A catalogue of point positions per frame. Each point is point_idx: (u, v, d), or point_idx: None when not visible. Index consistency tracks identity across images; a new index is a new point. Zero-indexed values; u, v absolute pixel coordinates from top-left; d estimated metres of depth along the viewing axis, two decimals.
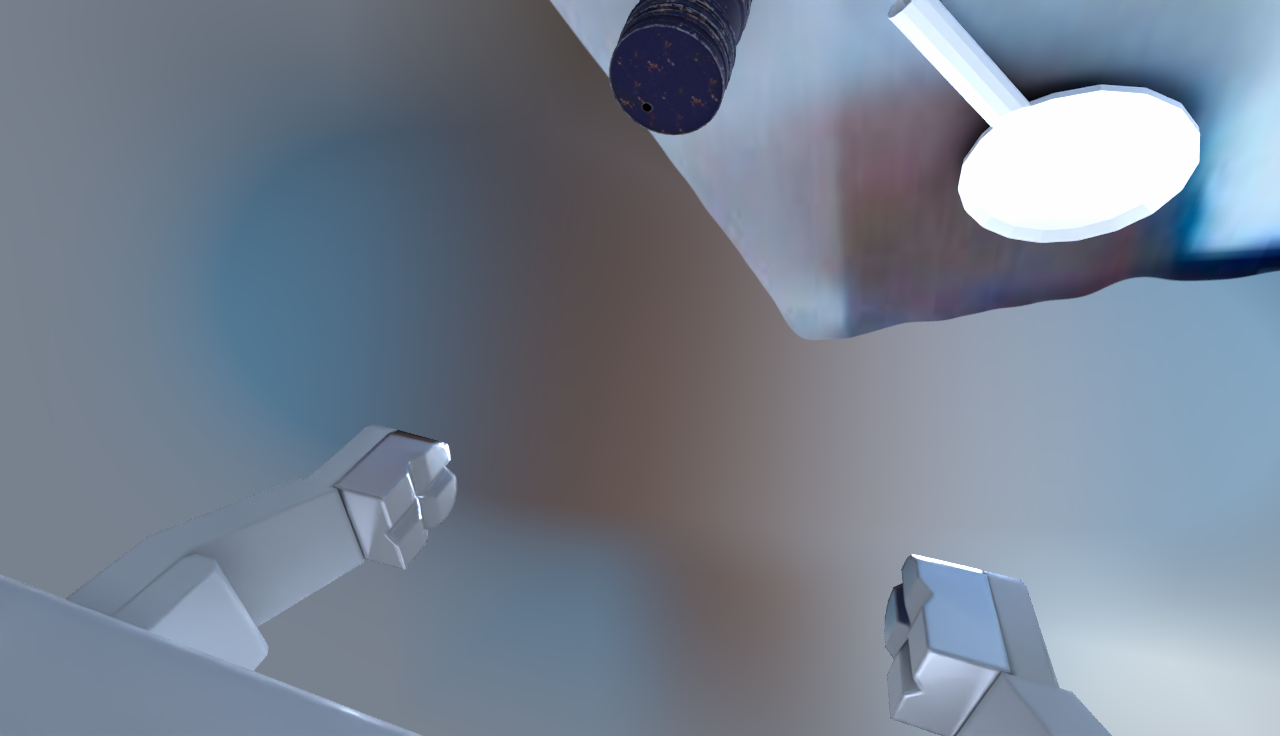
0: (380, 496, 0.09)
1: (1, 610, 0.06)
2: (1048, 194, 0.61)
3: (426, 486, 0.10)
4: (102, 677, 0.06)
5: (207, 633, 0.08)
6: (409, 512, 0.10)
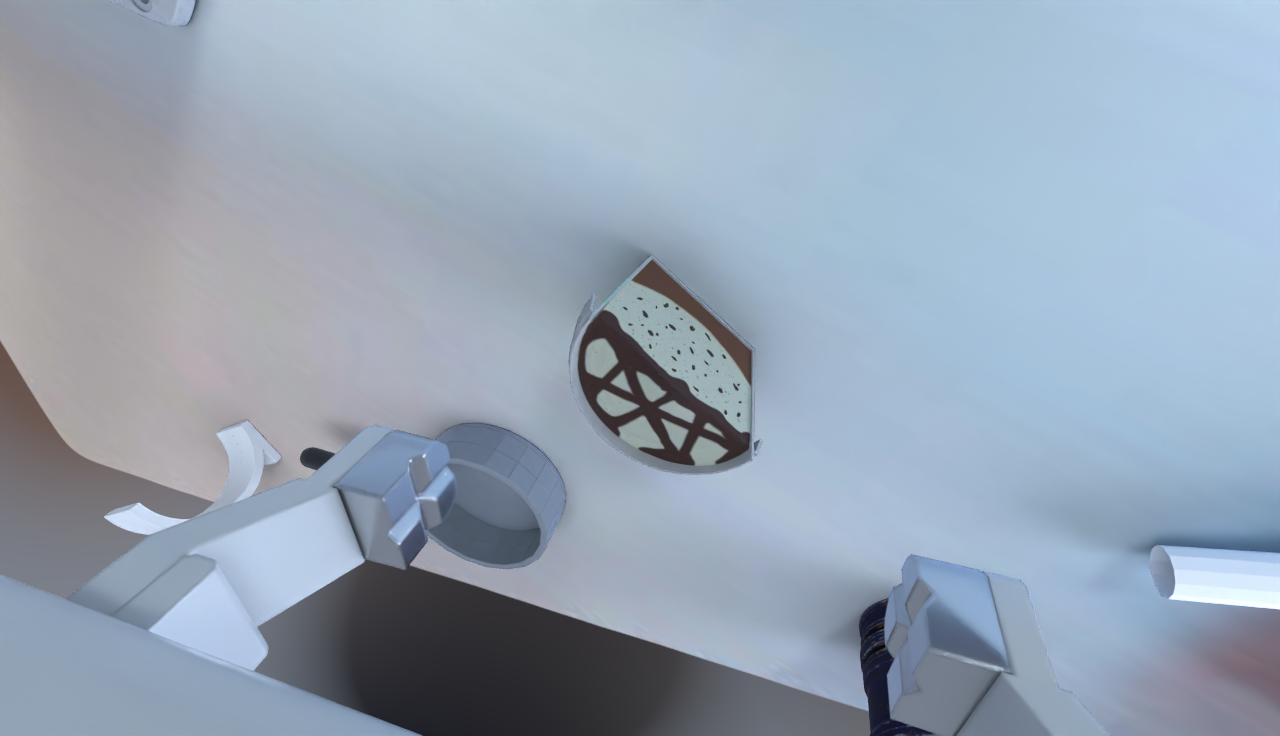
0: (380, 496, 0.09)
1: (1, 610, 0.06)
2: None
3: (426, 486, 0.10)
4: (102, 677, 0.06)
5: (207, 633, 0.08)
6: (409, 512, 0.10)
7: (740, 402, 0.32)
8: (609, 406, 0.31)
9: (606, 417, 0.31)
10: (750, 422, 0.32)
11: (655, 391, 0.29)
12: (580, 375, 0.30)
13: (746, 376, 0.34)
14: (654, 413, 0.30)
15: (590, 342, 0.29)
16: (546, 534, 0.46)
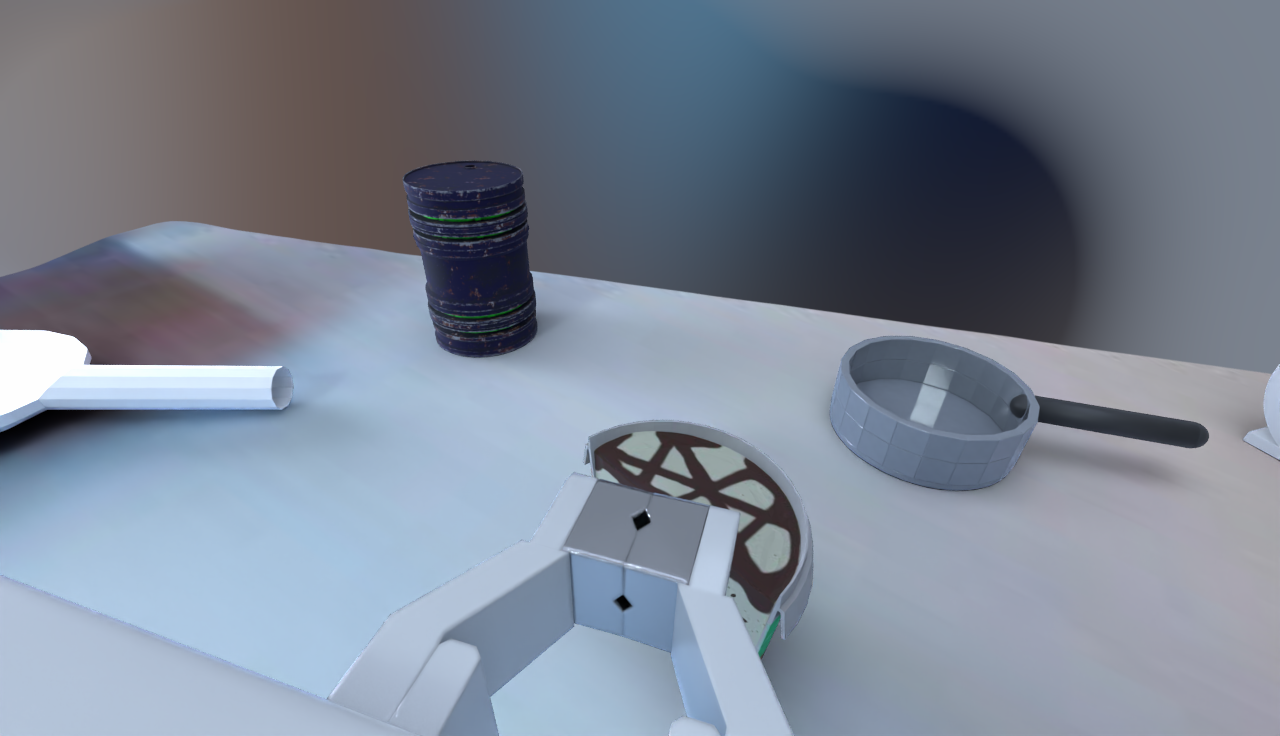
0: (620, 562, 0.08)
1: (1, 610, 0.06)
2: None
3: None
4: (102, 677, 0.06)
5: (469, 730, 0.07)
6: None
7: None
8: (756, 490, 0.25)
9: (761, 478, 0.26)
10: None
11: None
12: (796, 525, 0.23)
13: None
14: (700, 483, 0.25)
15: (783, 567, 0.22)
16: (842, 370, 0.42)
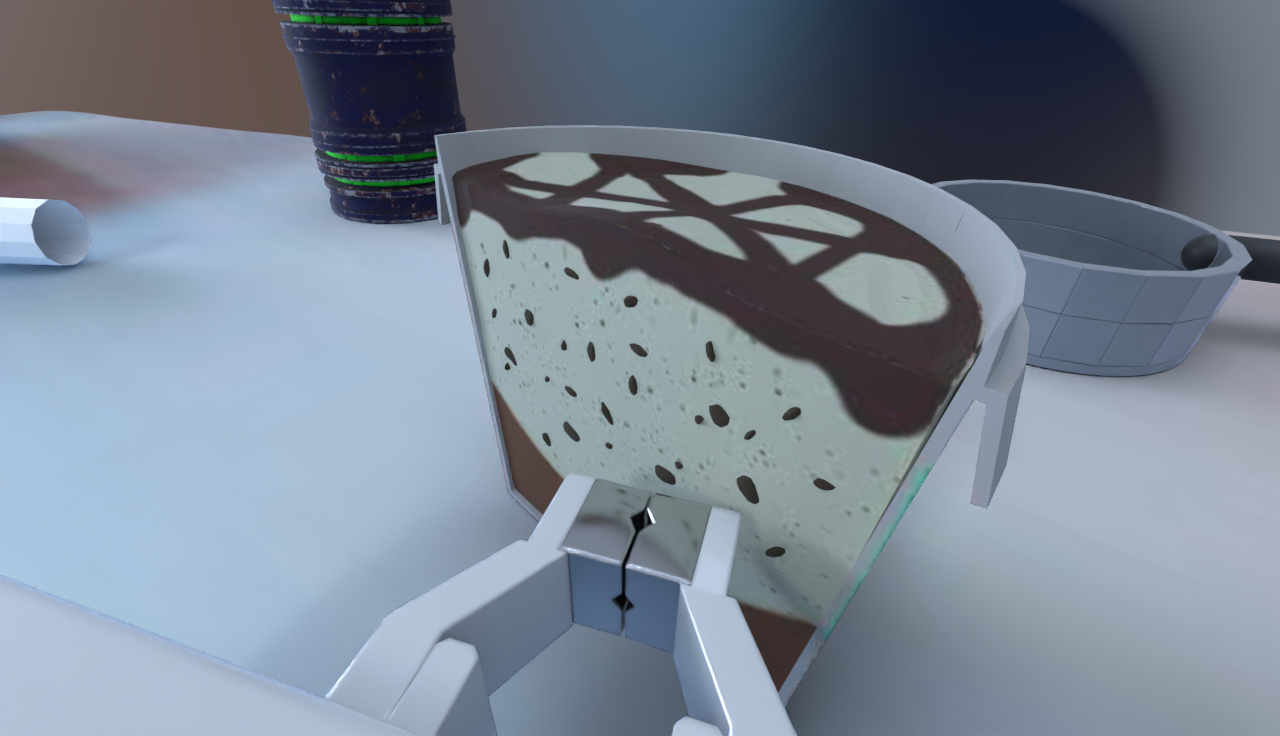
0: (618, 561, 0.08)
1: (1, 610, 0.06)
2: None
3: None
4: (102, 677, 0.06)
5: (467, 730, 0.07)
6: None
7: (493, 311, 0.13)
8: (818, 216, 0.11)
9: (822, 204, 0.11)
10: (469, 264, 0.13)
11: (680, 224, 0.09)
12: (936, 253, 0.09)
13: (503, 405, 0.15)
14: (686, 206, 0.11)
15: (940, 316, 0.07)
16: None
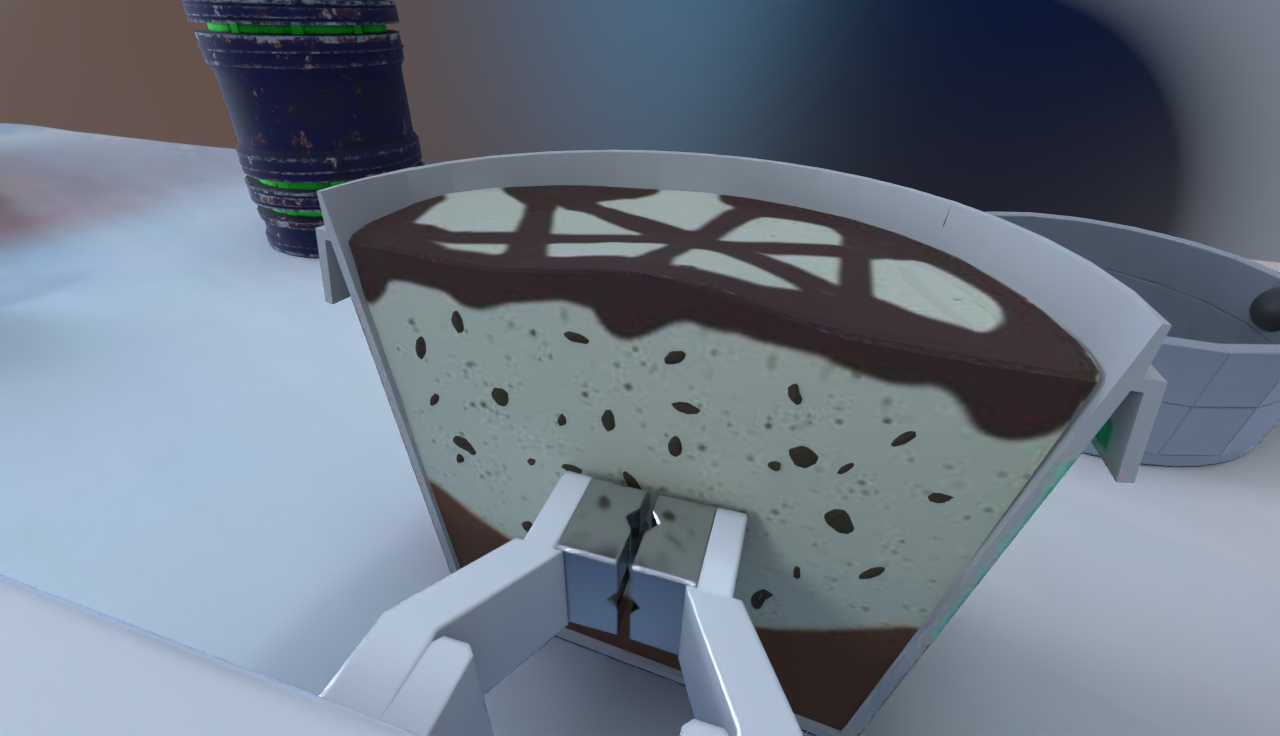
0: (614, 560, 0.08)
1: (1, 610, 0.06)
2: None
3: (634, 541, 0.09)
4: (102, 677, 0.06)
5: (462, 728, 0.07)
6: None
7: (434, 397, 0.11)
8: (789, 227, 0.11)
9: (777, 213, 0.11)
10: (383, 348, 0.10)
11: (705, 261, 0.08)
12: (928, 248, 0.10)
13: (451, 503, 0.12)
14: (667, 237, 0.10)
15: (1004, 312, 0.08)
16: None
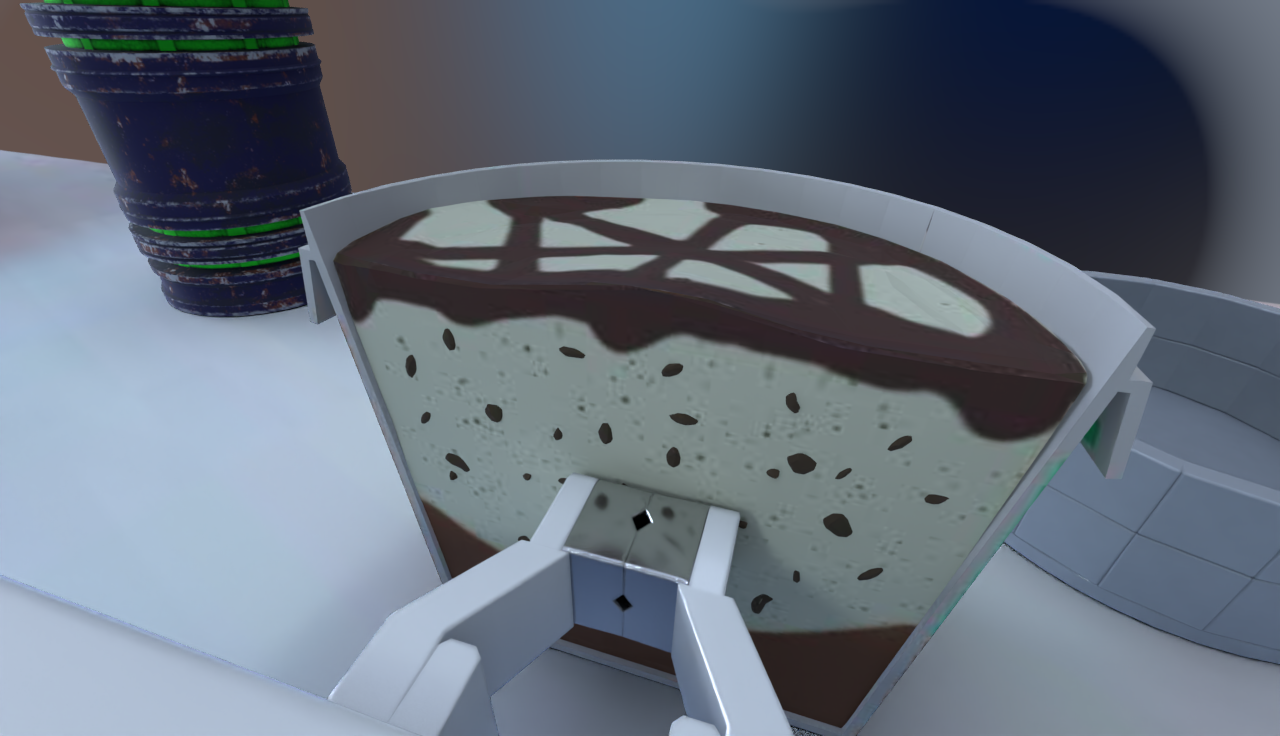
0: (620, 562, 0.08)
1: (1, 610, 0.06)
2: None
3: None
4: (102, 677, 0.06)
5: (469, 730, 0.07)
6: None
7: (425, 415, 0.10)
8: (776, 234, 0.11)
9: (763, 220, 0.11)
10: (371, 366, 0.10)
11: (698, 272, 0.08)
12: (912, 253, 0.10)
13: (444, 521, 0.12)
14: (658, 248, 0.10)
15: (992, 316, 0.08)
16: None
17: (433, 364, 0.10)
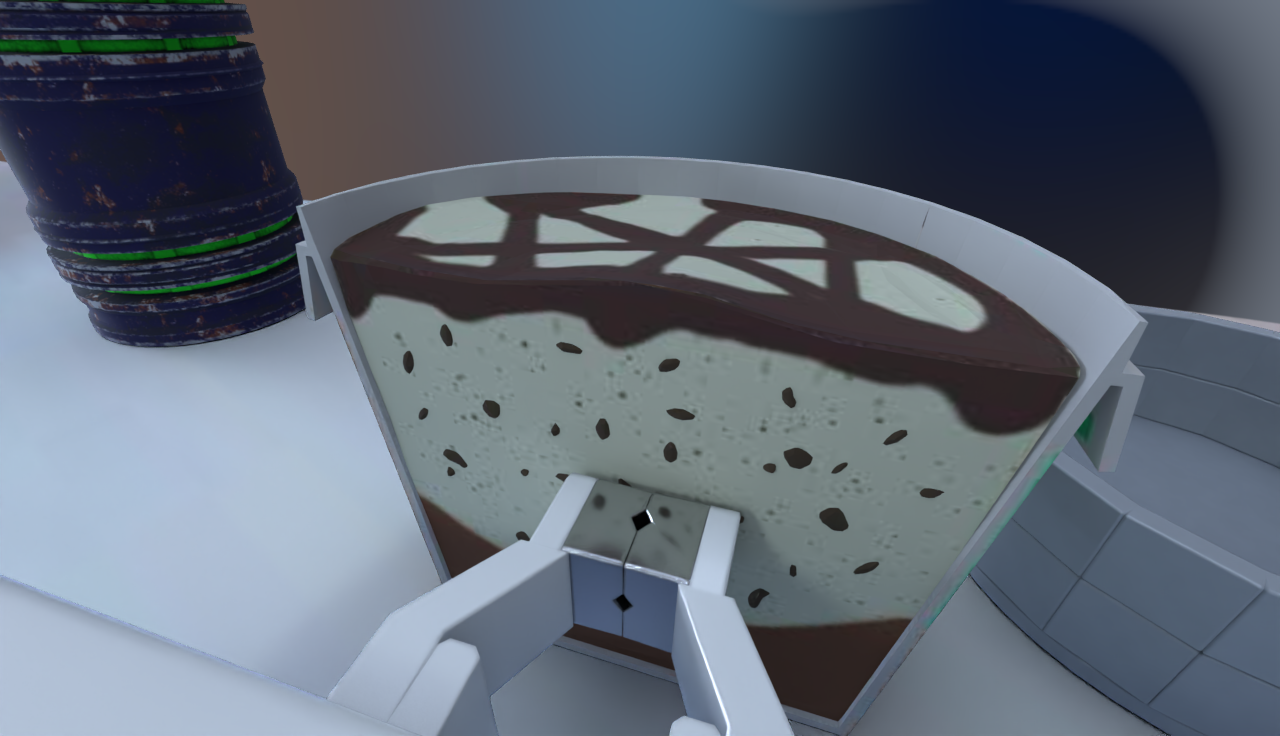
0: (620, 561, 0.08)
1: (1, 610, 0.06)
2: None
3: None
4: (102, 677, 0.06)
5: (468, 730, 0.07)
6: None
7: (422, 411, 0.10)
8: (772, 231, 0.11)
9: (759, 216, 0.12)
10: (369, 363, 0.10)
11: (695, 268, 0.08)
12: (908, 249, 0.10)
13: (442, 517, 0.12)
14: (654, 244, 0.10)
15: (986, 311, 0.08)
16: None
17: (430, 360, 0.10)
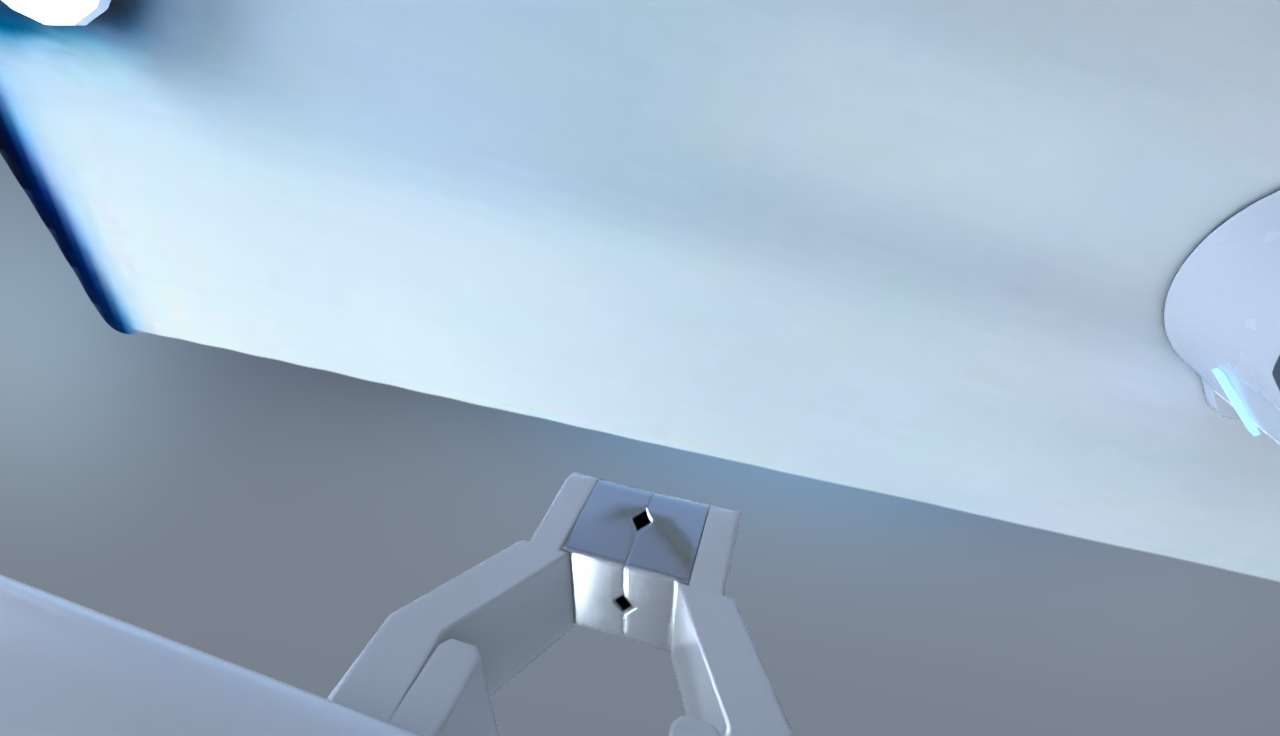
0: (620, 562, 0.08)
1: (1, 610, 0.06)
2: None
3: None
4: (102, 677, 0.06)
5: (469, 731, 0.07)
6: None
7: None
8: None
9: None
10: None
11: None
12: None
13: None
14: None
15: None
16: None
17: None
